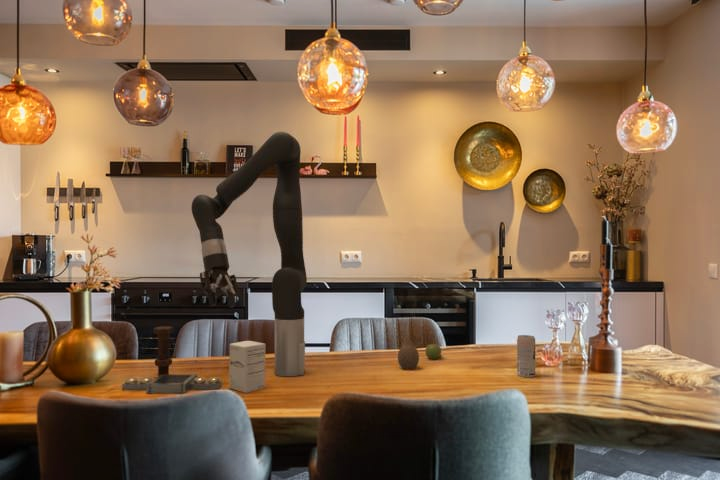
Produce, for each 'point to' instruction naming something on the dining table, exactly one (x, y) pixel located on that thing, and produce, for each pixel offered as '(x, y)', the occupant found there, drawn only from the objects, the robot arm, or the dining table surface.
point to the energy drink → (526, 356)
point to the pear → (433, 351)
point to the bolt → (163, 349)
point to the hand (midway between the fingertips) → (223, 306)
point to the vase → (408, 356)
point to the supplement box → (247, 366)
